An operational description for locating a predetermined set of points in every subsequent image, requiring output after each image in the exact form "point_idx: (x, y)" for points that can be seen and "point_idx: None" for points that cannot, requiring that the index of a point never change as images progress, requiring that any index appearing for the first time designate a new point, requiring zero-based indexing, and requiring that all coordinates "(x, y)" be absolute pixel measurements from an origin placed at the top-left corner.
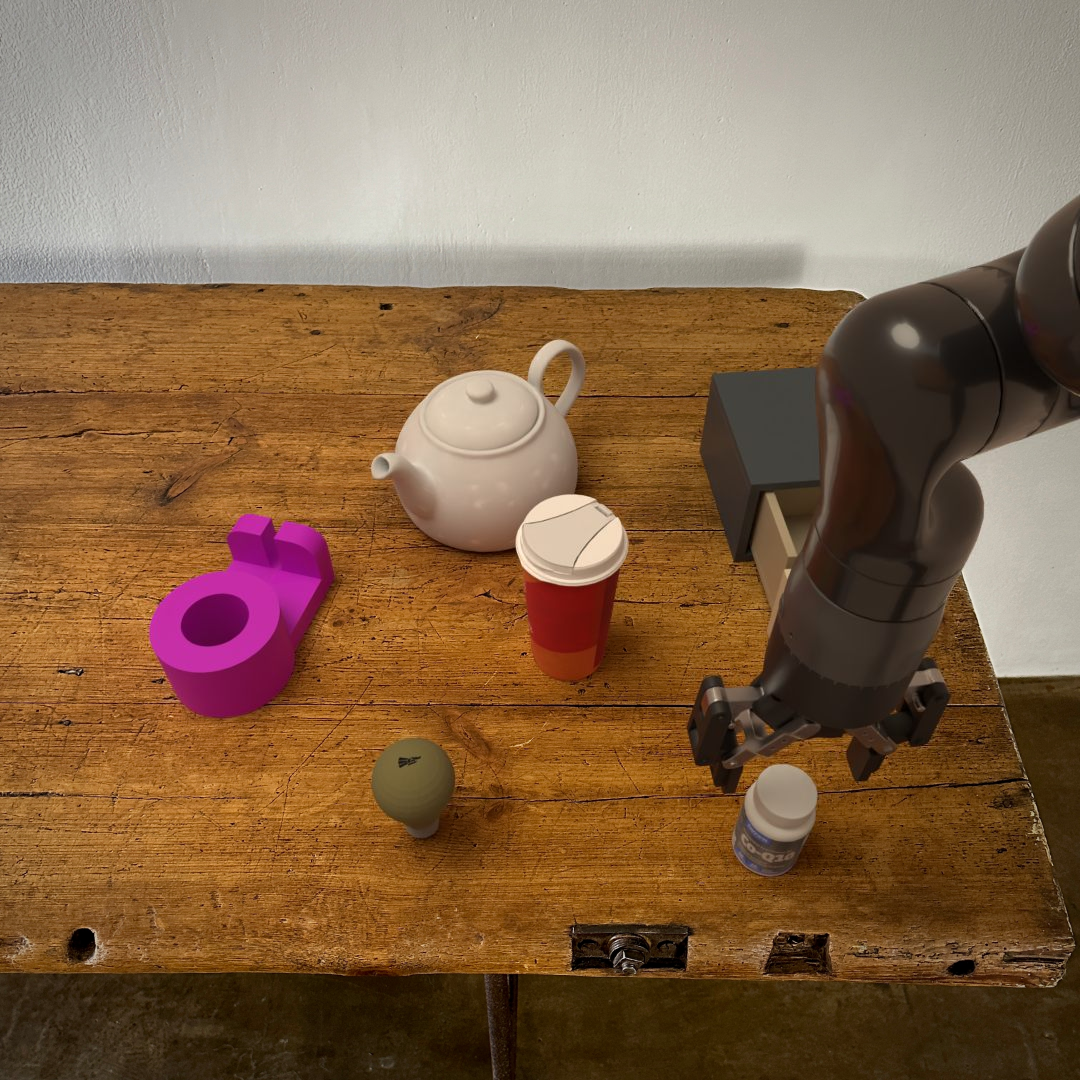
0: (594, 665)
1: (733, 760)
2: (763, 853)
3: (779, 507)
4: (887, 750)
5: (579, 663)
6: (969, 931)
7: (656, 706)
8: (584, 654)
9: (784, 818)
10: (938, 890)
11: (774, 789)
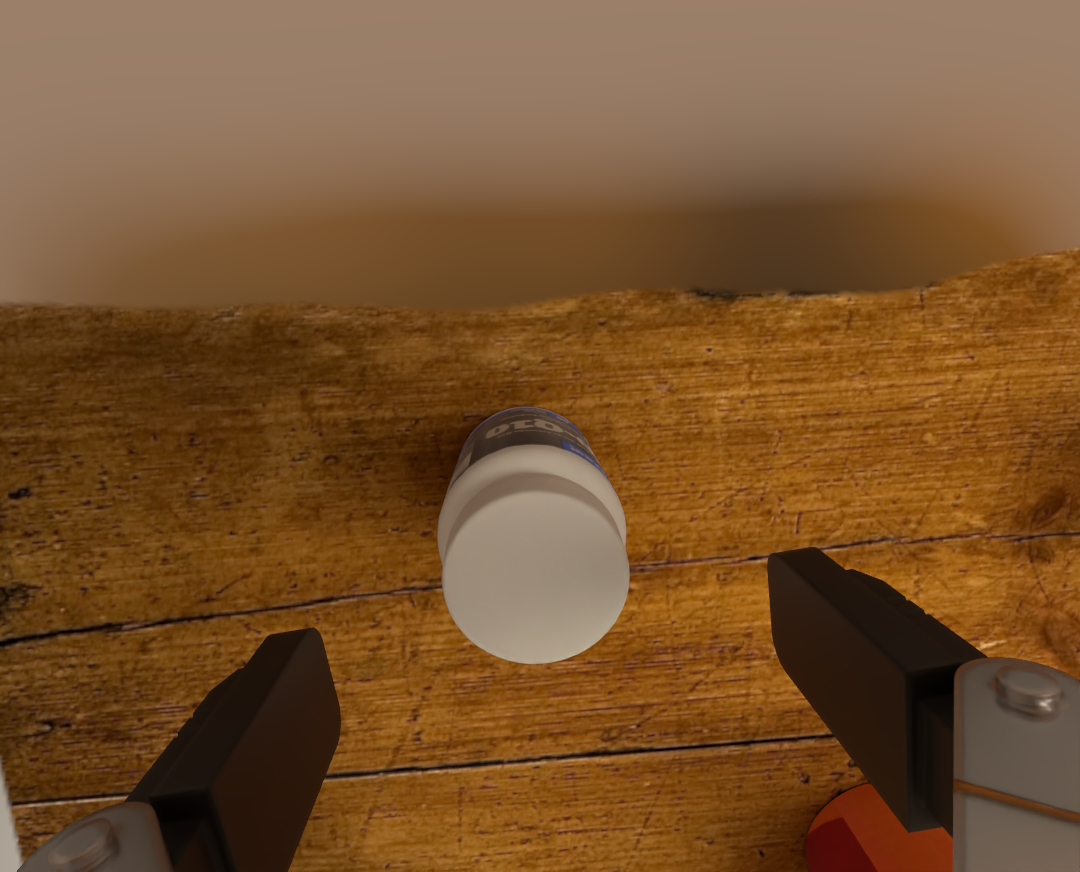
0: (843, 824)
1: (1067, 720)
2: (561, 431)
3: None
4: (78, 857)
5: (901, 837)
6: (106, 312)
7: (711, 744)
8: (914, 869)
9: (555, 491)
10: (165, 398)
11: (575, 582)
